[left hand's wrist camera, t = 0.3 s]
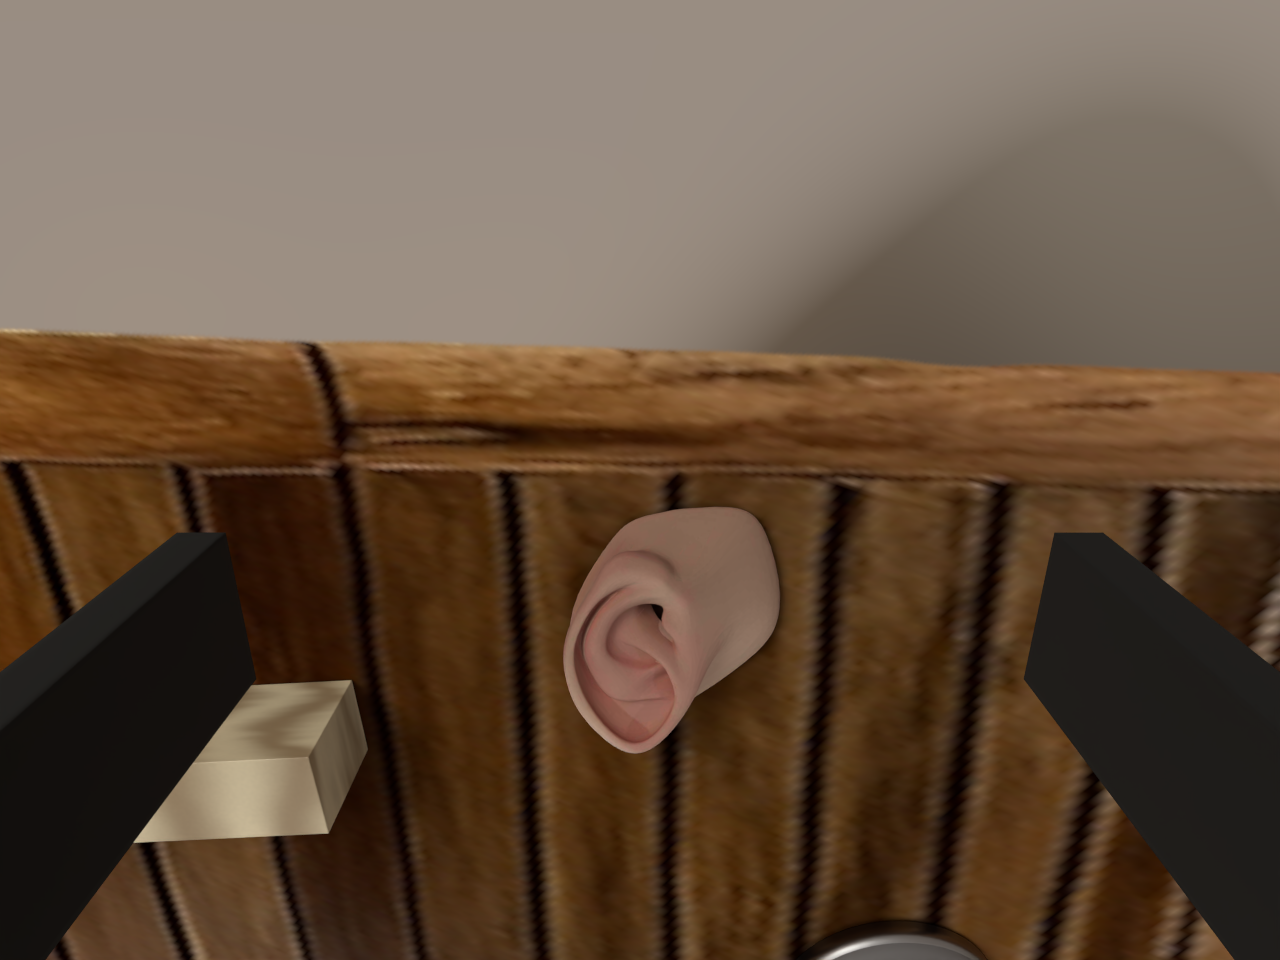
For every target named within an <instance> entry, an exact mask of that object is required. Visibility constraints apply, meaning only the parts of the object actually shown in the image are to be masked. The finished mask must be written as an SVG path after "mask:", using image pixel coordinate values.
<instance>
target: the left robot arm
mask: <svg viewBox="0 0 1280 960" xmlns="http://www.w3.org/2000/svg"><path fill="white" fill-rule="evenodd" d="M255 680H256V676H255V671H254V666H253V661H252V657H251V652H250V647H249V642H248V638H247V633H246V628H245V623H244V619H243V614H242V609H241V604H240V600H239V595H238V590H237V585H236V581H235V576H234V571H233V566H232V562H231V557H230V552H229V547H228V543H227V538H226V533H176V534H175V535H174V536H172V537H171V538H170V539H169V540H167V541H166V542H165V543H163V544H162V545H161V546H160V547H158V548H157V549H156V550H155V551H153V552H152V553H151V554H150V555H148V556H147V557H146V558H144V559H143V560H142V561H141V562H139V563H138V564H137V565H136V566H134V567H133V568H132V569H131V570H129V571H128V572H127V573H125V574H124V575H123V576H122V577H120V578H119V579H118V580H117V581H115V582H114V583H113V584H112V585H110V586H109V587H108V588H106V589H105V590H104V591H103V592H101V593H100V594H99V595H98V596H96V597H95V598H94V599H92V600H91V601H90V602H89V603H87V604H86V605H85V606H84V607H82V608H81V609H80V610H79V611H77V612H76V613H75V614H73V615H72V616H71V617H70V618H68V619H67V620H66V621H65V622H63V623H62V624H61V625H60V626H58V627H57V628H56V629H54V630H53V631H52V632H51V633H49V634H48V635H47V636H46V637H44V638H43V639H42V640H41V641H39V642H38V643H37V644H35V645H34V646H33V647H32V648H30V649H29V650H28V651H27V652H25V653H24V654H23V655H22V656H20V657H19V658H18V659H16V660H15V661H14V662H13V663H11V664H10V665H9V666H8V667H6V668H5V669H4V670H3V671H1V672H0V960H46V958H47V957H48V956H49V954H50V953H51V952H52V950H53V949H54V948H55V946H56V945H57V944H58V942H59V941H60V940H61V938H62V937H63V936H64V934H65V933H66V932H67V930H68V929H69V928H70V926H71V925H72V924H73V922H74V921H75V920H76V918H77V917H78V916H79V914H80V913H81V912H82V910H83V909H84V908H85V906H86V905H87V904H88V902H89V901H90V900H91V898H92V897H93V896H94V894H95V893H96V892H97V890H98V889H99V888H100V886H101V885H102V884H103V882H104V881H105V880H106V878H107V877H108V876H109V874H110V873H111V872H112V870H113V869H114V868H115V866H116V865H117V864H118V862H119V861H120V860H121V858H122V857H123V856H124V854H125V853H126V852H127V850H128V849H129V848H130V846H131V845H132V844H133V842H134V841H135V840H136V838H137V837H138V836H139V834H140V833H141V832H142V830H143V829H144V828H145V826H146V825H147V824H148V822H149V821H150V820H151V818H152V817H153V816H154V814H155V813H156V812H157V810H158V809H159V808H160V806H161V805H162V804H163V802H164V801H165V800H166V798H167V797H168V796H169V794H170V793H171V792H172V790H173V789H174V788H175V786H176V785H177V784H178V782H179V781H180V780H181V778H182V777H183V776H184V774H185V773H186V772H187V770H188V769H189V768H190V766H191V765H192V764H193V762H194V761H195V760H196V758H197V757H198V756H199V754H200V753H201V752H202V750H203V749H204V748H205V746H206V745H207V744H208V742H209V741H210V740H211V738H212V737H213V736H214V734H215V733H216V732H217V730H218V729H219V728H220V726H221V725H222V724H223V722H224V721H225V720H226V718H227V717H228V716H229V714H230V713H231V712H232V710H233V709H234V708H235V707H236V705H237V704H238V703H239V701H240V700H241V699H242V697H243V696H244V695H245V693H246V692H247V691H248V689H249V688H250V687H251V685H252V684H253V683H254V681H255ZM1024 680H1025V681H1026V683H1027V684H1028V685H1029V687H1030V688H1031V689H1032V691H1033V692H1034V693H1035V695H1036V696H1037V697H1038V699H1039V700H1040V701H1041V703H1042V704H1043V705H1044V707H1045V708H1046V709H1047V711H1048V712H1049V713H1050V714H1051V716H1052V717H1053V718H1054V720H1055V721H1056V722H1057V724H1058V725H1059V726H1060V728H1061V729H1062V730H1063V732H1064V733H1065V734H1066V736H1067V737H1068V738H1069V740H1070V741H1071V742H1072V744H1073V745H1074V746H1075V748H1076V749H1077V750H1078V752H1079V753H1080V754H1081V756H1082V757H1083V758H1084V760H1085V761H1086V762H1087V764H1088V765H1089V766H1090V768H1091V769H1092V770H1093V772H1094V773H1095V774H1096V776H1097V777H1098V778H1099V780H1100V781H1101V782H1102V784H1103V785H1104V786H1105V788H1106V789H1107V790H1108V792H1109V793H1110V794H1111V796H1112V797H1113V798H1114V800H1115V801H1116V802H1117V804H1118V805H1119V806H1120V808H1121V809H1122V810H1123V812H1124V813H1125V814H1126V816H1127V817H1128V818H1129V820H1130V821H1131V822H1132V824H1133V825H1134V826H1135V828H1136V829H1137V830H1138V832H1139V833H1140V834H1141V836H1142V837H1143V838H1144V840H1145V841H1146V842H1147V844H1148V845H1149V846H1150V848H1151V849H1152V850H1153V852H1154V853H1155V854H1156V856H1157V857H1158V858H1159V860H1160V861H1161V862H1162V864H1163V865H1164V866H1165V868H1166V869H1167V870H1168V872H1169V873H1170V874H1171V876H1172V877H1173V878H1174V880H1175V881H1176V882H1177V884H1178V885H1179V886H1180V888H1181V889H1182V890H1183V892H1184V893H1185V894H1186V896H1187V897H1188V898H1189V900H1190V901H1191V902H1192V904H1193V905H1194V906H1195V908H1196V909H1197V910H1198V912H1199V913H1200V914H1201V916H1202V917H1203V918H1204V920H1205V921H1206V922H1207V924H1208V925H1209V926H1210V928H1211V929H1212V930H1213V932H1214V933H1215V934H1216V936H1217V937H1218V938H1219V940H1220V941H1221V942H1222V944H1223V945H1224V946H1225V948H1226V949H1227V950H1228V952H1229V953H1230V954H1231V956H1232V957H1233V958H1234V960H1280V672H1279V671H1277V670H1276V669H1275V668H1274V667H1272V666H1271V665H1270V664H1269V663H1267V662H1266V661H1265V660H1264V659H1262V658H1261V657H1260V656H1258V655H1257V654H1256V653H1255V652H1253V651H1252V650H1251V649H1250V648H1248V647H1247V646H1246V645H1245V644H1243V643H1242V642H1241V641H1239V640H1238V639H1237V638H1236V637H1234V636H1233V635H1232V634H1231V633H1229V632H1228V631H1227V630H1226V629H1224V628H1223V627H1222V626H1220V625H1219V624H1218V623H1217V622H1215V621H1214V620H1213V619H1212V618H1210V617H1209V616H1208V615H1207V614H1205V613H1204V612H1203V611H1201V610H1200V609H1199V608H1198V607H1196V606H1195V605H1194V604H1193V603H1191V602H1190V601H1189V600H1187V599H1186V598H1185V597H1184V596H1182V595H1181V594H1180V593H1179V592H1177V591H1176V590H1175V589H1174V588H1172V587H1171V586H1170V585H1168V584H1167V583H1166V582H1165V581H1163V580H1162V579H1161V578H1160V577H1158V576H1157V575H1156V574H1155V573H1153V572H1152V571H1151V570H1149V569H1148V568H1147V567H1146V566H1144V565H1143V564H1142V563H1141V562H1139V561H1138V560H1137V559H1136V558H1134V557H1133V556H1132V555H1130V554H1129V553H1128V552H1127V551H1125V550H1124V549H1123V548H1122V547H1120V546H1119V545H1118V544H1117V543H1115V542H1114V541H1113V540H1111V539H1110V538H1109V537H1108V536H1106V535H1105V534H1104V533H1054V538H1053V543H1052V547H1051V552H1050V557H1049V562H1048V566H1047V571H1046V576H1045V581H1044V585H1043V590H1042V595H1041V600H1040V604H1039V609H1038V614H1037V619H1036V623H1035V628H1034V633H1033V638H1032V642H1031V647H1030V652H1029V657H1028V661H1027V666H1026V671H1025V676H1024ZM796 960H987V959H986V957H985V956H984V955H983V953H982V952H981V951H980V950H979V949H978V948H977V947H976V946H975V945H973V944H972V943H971V942H970V941H968V940H967V939H965V938H964V937H962V936H960V935H958V934H956V933H954V932H952V931H949V930H947V929H944V928H941V927H938V926H935V925H930V924H926V923H919V922H911V921H886V922H876V923H869V924H865V925H860V926H856V927H853V928H849V929H846V930H843V931H841V932H838V933H836V934H833V935H831V936H829V937H827V938H825V939H823V940H822V941H820V942H818V943H816V944H815V945H813V946H812V947H810V948H809V949H808V950H806V951H805V952H804V953H803V954H802V955H800V956H799V957H798V958H797V959H796Z"/></svg>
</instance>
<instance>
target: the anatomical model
mask: <svg viewBox="0 0 1280 960" xmlns="http://www.w3.org/2000/svg"><path fill="white" fill-rule="evenodd" d="M779 608H780V589H779V579H778V574H777V569H776V564H775V560H774V556H773V553H772V549H771V546H770V543H769V541H768V538H767V536H766V533H765V531H764V529H763V527H762V525H761V524H760V523H759V521H758V520H757V519H756V518H755V517H754V516H753V515H752V514H750V513H749V512H747V511H745V510H742V509H738V508H732V507H704V508H687V509H677V510H671V511H666V512H662V513H657V514H652V515H648V516H644V517H641V518H638V519H636V520H634V521H632V522H630V523H628V524H627V525H625V526H624V527H623V528H622V529H621V530H620V531H619V532H618V533H617V534H616V535H615V536H614V537H613V539H612V540H611V541H610V543H609V544H608V545H607V547H606V548H605V550H604V551H603V552H602V554H601V555H600V557H599V558H598V560H597V562H596V563H595V565H594V566H593V568H592V569H591V571H590V573H589V575H588V576H587V578H586V580H585V582H584V584H583V586H582V588H581V590H580V592H579V594H578V597H577V600H576V602H575V605H574V608H573V612H572V617H571V622H570V627H569V629H568V632H567V635H566V639H565V645H564V652H563V661H564V671H565V677H566V681H567V684H568V688H569V691H570V694H571V696H572V699H573V701H574V703H575V705H576V707H577V709H578V710H579V712H580V713H581V715H582V716H583V717H584V719H585V720H586V721H587V722H588V724H589V725H590V726H591V727H592V728H593V729H594V730H595V731H596V732H597V733H598V734H599V735H601V736H602V737H603V738H604V739H605V740H606V741H608V742H609V743H610V744H612V745H613V746H615V747H617V748H618V749H620V750H623V751H625V752H629V753H642V752H645V751H647V750H650V749H651V748H653V747H655V746H656V745H657V744H659V743H660V742H661V741H662V740H663V739H664V738H665V737H666V736H668V735H669V733H670V732H671V731H672V730H673V729H674V728H675V726H676V725H677V724H678V723H679V721H680V720H681V719H682V717H683V716H684V714H685V713H686V711H687V710H688V708H689V706H690V705H691V703H692V701H693V699H694V697H696V696H697V695H699V694H700V693H702V692H703V691H705V690H706V689H708V688H710V687H711V686H713V685H714V684H716V683H717V682H718V681H720V680H721V679H723V678H724V677H725V676H727V675H728V674H730V673H731V672H733V671H734V670H735V669H736V668H738V667H739V666H740V665H742V664H743V663H744V662H745V661H747V660H748V659H749V658H750V657H751V656H752V655H754V654H755V653H756V652H757V651H758V650H759V649H760V648H761V647H762V646H763V645H764V644H765V642H766V641H767V640H768V638H769V637H770V636H771V634H772V632H773V630H774V628H775V625H776V623H777V619H778V615H779Z"/></svg>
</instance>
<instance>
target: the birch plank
mask: <svg viewBox="0 0 1280 960" xmlns="http://www.w3.org/2000/svg"><path fill="white" fill-rule="evenodd" d="M367 750H368V748H367V743H366V739H365V735H364V731H363V726H362V722H361V718H360V713H359V709H358V705H357V700H356V696H355V692H354V687H353V683H352V680H345V681H326V682H307V683H288V684H268V685H251V687H250V688H249V689H248V691H247V692H246V693H245V695H244V696H243V697H242V699H241V700H240V701H239V703H238V704H237V705H236V707H235V708H234V709H233V710H232V712H231V713H230V714H229V716H228V717H227V718H226V720H225V721H224V722H223V724H222V725H221V726H220V728H219V729H218V730H217V732H216V733H215V734H214V736H213V737H212V738H211V740H210V741H209V742H208V744H207V745H206V746H205V748H204V749H203V750H202V752H201V753H200V754H199V756H198V757H197V758H196V760H195V761H194V762H193V764H192V765H191V766H190V768H189V769H188V770H187V772H186V773H185V774H184V776H183V777H182V778H181V780H180V781H179V782H178V784H177V785H176V786H175V788H174V789H173V790H172V792H171V793H170V794H169V796H168V797H167V798H166V800H165V801H164V802H163V804H162V805H161V806H160V808H159V809H158V810H157V812H156V813H155V814H154V816H153V817H152V818H151V820H150V821H149V822H148V824H147V825H146V826H145V828H144V829H143V830H142V832H141V833H140V834H139V836H138V837H137V838H136V840H135V841H134V842H133V843H138V842H159V841H180V840H201V839H221V838H242V837H263V836H284V835H305V834H326V833H329V832H330V829H331V827H332V825H333V823H334V821H335V819H336V817H337V814H338V812H339V810H340V808H341V806H342V804H343V802H344V799H345V797H346V795H347V793H348V791H349V789H350V787H351V784H352V782H353V780H354V778H355V776H356V774H357V772H358V769H359V767H360V765H361V763H362V761H363V759H364V757H365V754H366V752H367Z"/></svg>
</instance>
